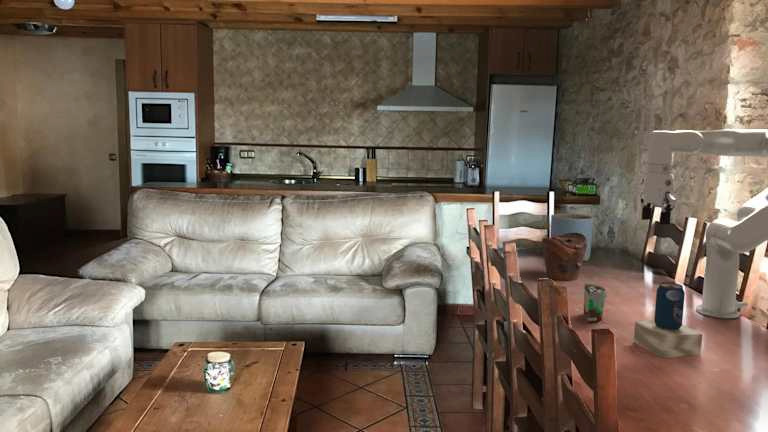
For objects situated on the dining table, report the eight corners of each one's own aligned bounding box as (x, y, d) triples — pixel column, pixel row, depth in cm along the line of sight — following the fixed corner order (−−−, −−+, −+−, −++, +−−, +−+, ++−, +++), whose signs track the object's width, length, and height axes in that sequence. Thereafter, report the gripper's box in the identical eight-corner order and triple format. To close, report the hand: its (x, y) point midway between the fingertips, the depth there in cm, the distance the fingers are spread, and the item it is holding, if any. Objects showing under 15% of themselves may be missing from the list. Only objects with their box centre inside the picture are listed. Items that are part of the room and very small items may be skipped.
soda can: (680, 333, 158) (683, 289, 157) (651, 328, 162) (655, 285, 160) (683, 326, 164) (686, 284, 162) (656, 321, 168) (659, 280, 166)
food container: (608, 325, 182) (610, 294, 181) (587, 324, 184) (589, 293, 182) (602, 313, 194) (604, 284, 193) (582, 312, 196) (584, 283, 194)
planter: (596, 262, 270) (599, 219, 268) (555, 262, 271) (557, 219, 268) (583, 254, 289) (586, 213, 286) (544, 253, 290) (546, 213, 287)
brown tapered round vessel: (535, 279, 237) (538, 235, 235) (542, 269, 256) (545, 228, 253) (582, 285, 231) (586, 240, 228) (585, 274, 249) (589, 232, 247)
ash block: (671, 339, 171) (673, 319, 170) (700, 355, 159) (702, 334, 158) (633, 341, 169) (635, 321, 168) (660, 357, 157) (661, 336, 156)
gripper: (687, 171, 183) (683, 225, 186) (653, 167, 200) (649, 217, 202) (666, 171, 182) (661, 226, 184) (633, 167, 199) (629, 218, 201)
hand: (655, 221), depth 193 cm, fingers open, 9 cm apart
